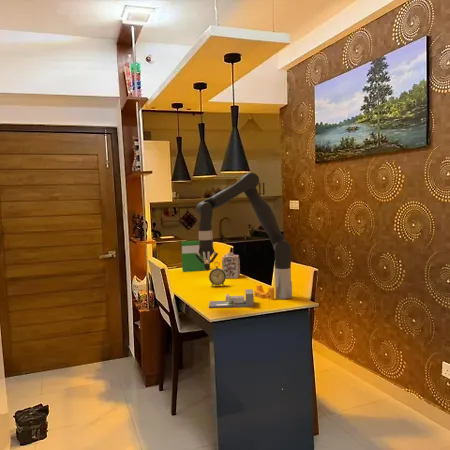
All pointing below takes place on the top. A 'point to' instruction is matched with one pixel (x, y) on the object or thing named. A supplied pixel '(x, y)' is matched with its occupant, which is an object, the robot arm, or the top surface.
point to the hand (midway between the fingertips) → (207, 270)
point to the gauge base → (247, 303)
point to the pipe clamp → (262, 294)
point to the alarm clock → (217, 276)
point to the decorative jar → (231, 265)
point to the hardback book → (191, 257)
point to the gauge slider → (234, 299)
